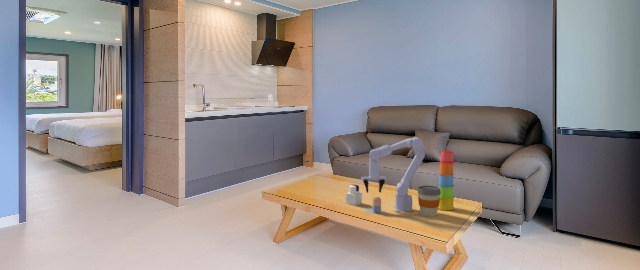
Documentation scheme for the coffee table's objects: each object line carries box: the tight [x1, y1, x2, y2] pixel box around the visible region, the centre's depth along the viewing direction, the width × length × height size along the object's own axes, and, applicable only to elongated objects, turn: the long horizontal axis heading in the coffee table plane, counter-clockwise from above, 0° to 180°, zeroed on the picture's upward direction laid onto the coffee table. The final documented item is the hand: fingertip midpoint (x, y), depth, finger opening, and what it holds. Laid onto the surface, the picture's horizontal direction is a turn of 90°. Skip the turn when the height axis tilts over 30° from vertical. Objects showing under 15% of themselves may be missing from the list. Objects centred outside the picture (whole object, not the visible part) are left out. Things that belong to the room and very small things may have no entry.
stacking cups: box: [437, 150, 456, 211], centre depth 217 cm, size 10×10×35 cm
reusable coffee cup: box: [417, 185, 441, 217], centre depth 208 cm, size 13×12×15 cm
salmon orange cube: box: [371, 196, 382, 207], centre depth 211 cm, size 4×4×4 cm
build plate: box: [363, 207, 385, 214], centre depth 214 cm, size 10×10×1 cm
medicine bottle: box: [345, 184, 363, 207], centre depth 227 cm, size 7×7×12 cm
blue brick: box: [371, 204, 382, 214], centre depth 211 cm, size 4×4×4 cm
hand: (373, 192), depth 218 cm, fingers open, 7 cm apart
